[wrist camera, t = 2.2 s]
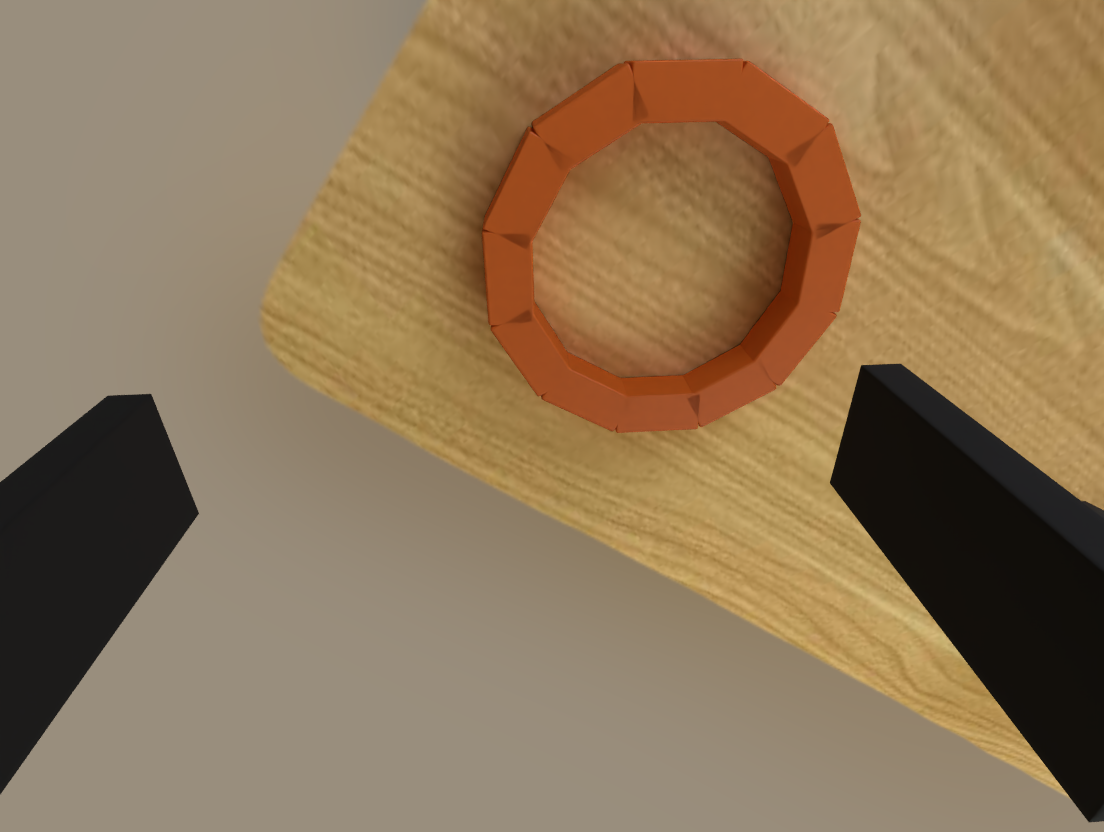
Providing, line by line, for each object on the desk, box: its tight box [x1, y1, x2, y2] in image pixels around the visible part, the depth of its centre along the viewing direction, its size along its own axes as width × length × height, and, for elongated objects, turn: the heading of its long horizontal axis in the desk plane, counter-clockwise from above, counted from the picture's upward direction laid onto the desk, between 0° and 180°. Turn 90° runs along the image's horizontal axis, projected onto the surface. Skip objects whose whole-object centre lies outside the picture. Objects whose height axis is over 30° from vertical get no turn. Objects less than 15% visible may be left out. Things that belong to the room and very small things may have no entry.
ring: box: [482, 59, 861, 433], centre depth 21 cm, size 12×12×2 cm
